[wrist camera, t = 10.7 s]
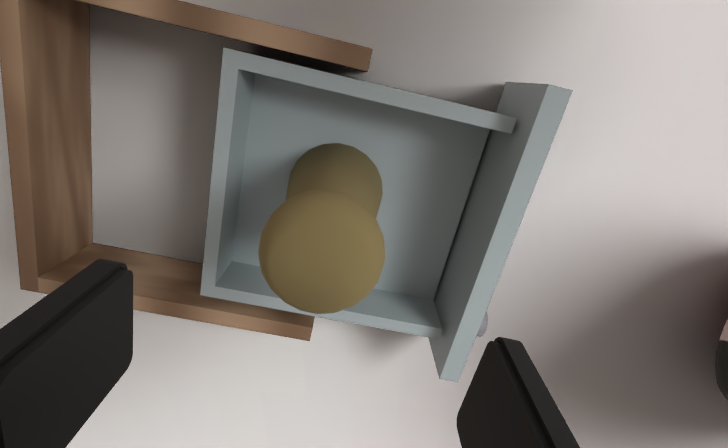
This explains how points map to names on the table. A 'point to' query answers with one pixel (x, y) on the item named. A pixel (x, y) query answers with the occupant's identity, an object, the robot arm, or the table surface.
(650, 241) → the table surface
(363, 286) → the cork
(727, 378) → the packaged food
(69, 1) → the frame
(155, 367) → the table surface
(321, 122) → the tray
